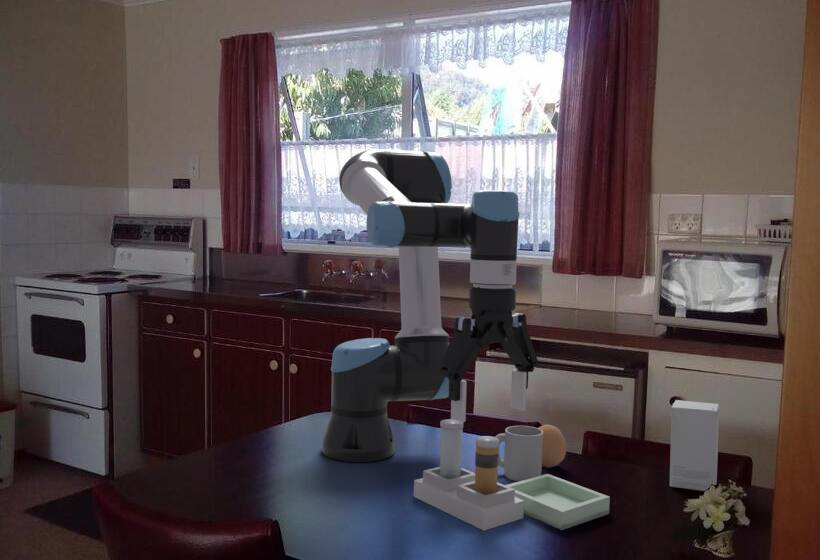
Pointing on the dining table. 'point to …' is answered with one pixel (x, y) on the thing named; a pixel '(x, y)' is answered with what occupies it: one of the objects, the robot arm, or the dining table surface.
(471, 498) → the block
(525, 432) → the cup
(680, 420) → the skincare box
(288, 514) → the dining table surface
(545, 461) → the egg
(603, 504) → the parts tray
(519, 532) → the dining table surface
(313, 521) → the dining table surface
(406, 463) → the dining table surface
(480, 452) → the cylinder
